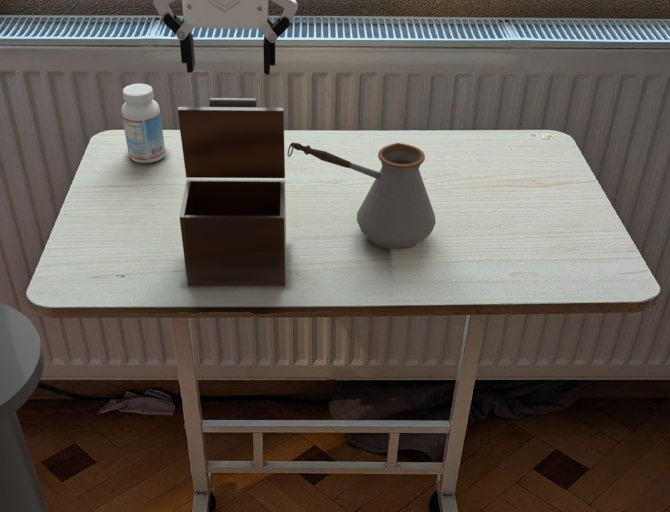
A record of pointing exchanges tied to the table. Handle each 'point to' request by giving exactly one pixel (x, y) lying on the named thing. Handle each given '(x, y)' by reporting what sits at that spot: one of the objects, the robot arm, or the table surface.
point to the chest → (234, 232)
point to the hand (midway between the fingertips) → (229, 69)
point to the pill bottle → (142, 124)
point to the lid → (232, 140)
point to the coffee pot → (390, 196)
